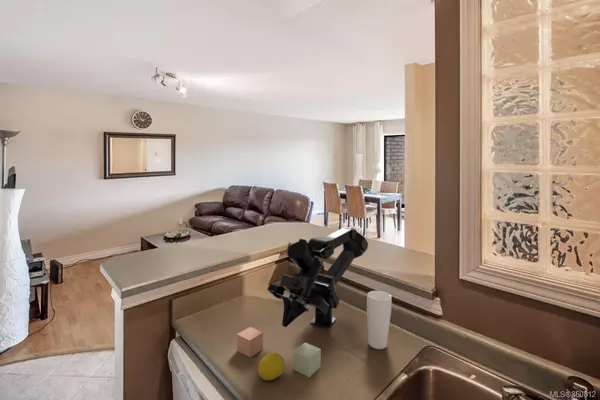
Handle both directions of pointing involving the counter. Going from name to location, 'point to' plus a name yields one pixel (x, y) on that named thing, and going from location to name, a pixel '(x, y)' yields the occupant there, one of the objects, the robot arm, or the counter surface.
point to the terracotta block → (250, 341)
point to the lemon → (271, 366)
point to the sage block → (306, 359)
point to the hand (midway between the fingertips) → (283, 326)
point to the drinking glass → (378, 318)
